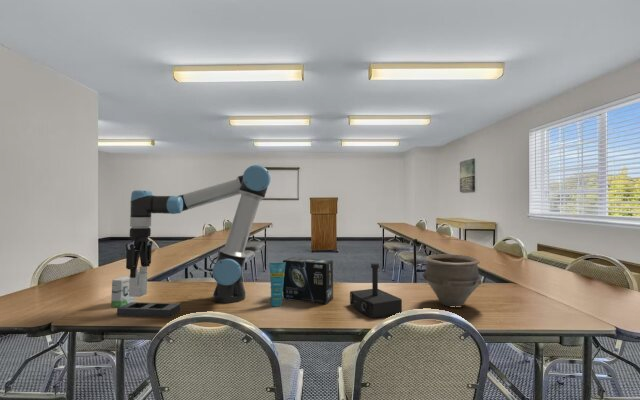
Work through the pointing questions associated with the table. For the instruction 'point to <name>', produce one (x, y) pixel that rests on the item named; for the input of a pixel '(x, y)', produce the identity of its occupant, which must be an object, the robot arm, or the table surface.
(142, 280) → the grey rectangular block
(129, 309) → the dark grey slotted tray
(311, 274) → the box
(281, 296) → the tube
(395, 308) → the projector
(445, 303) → the planter
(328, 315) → the table surface
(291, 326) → the table surface
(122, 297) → the ink box
